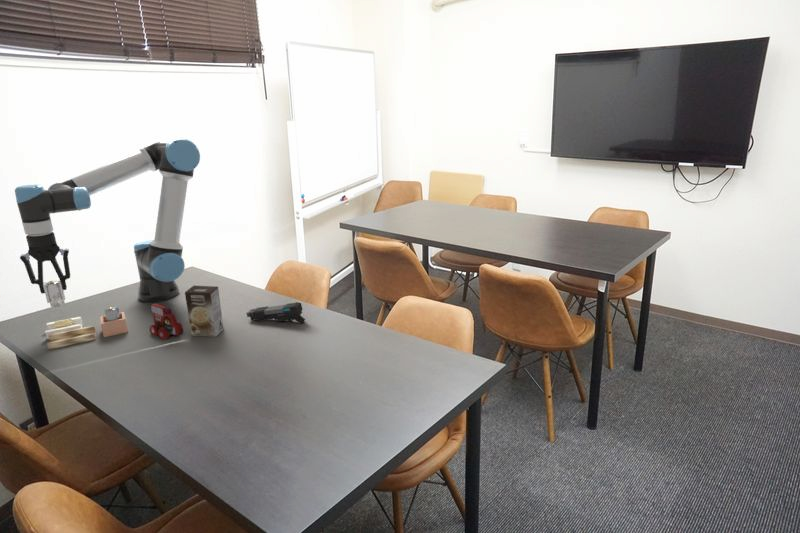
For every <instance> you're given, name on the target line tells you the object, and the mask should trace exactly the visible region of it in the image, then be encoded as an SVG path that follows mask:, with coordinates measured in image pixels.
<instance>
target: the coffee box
mask: <svg viewBox="0 0 800 533" xmlns="http://www.w3.org/2000/svg"><path fill="white" fill-rule="evenodd" d="M184 295H185V302H186V308H187V314H188V320H189V328H190V333H191V334H190V335H191V336H194V337H215V338H216V337H217V336H218V335H219V334H221V332H222V331H223V330H224V322H223V314H222V306H221V300H220V299H221V298H220V292H219V286H211V285H192V286H191V287H190V288H188V289H187V290H186V291H185V292H184Z"/></svg>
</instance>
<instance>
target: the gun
mask: <svg viewBox="0 0 800 533" xmlns="http://www.w3.org/2000/svg"><path fill="white" fill-rule="evenodd" d="M302 314H303V306H302V303H301V302H300V301H299V302H297V301H295V302H292V303H286V304H280V305H273V306H268V305H267V306H260V307H259V306H258V307H256V308H250V309H249V311H247V312H246V317H247V318H249V319H250V320H251V321H253V322H254V321H256V320H257V321H260V322H262V321H268V320H274V321H278V322H283V321H284V322H285V321H288V322H289V323H292V322H294V321H295V322H297V323H298V324H300V325H302V324H304V322H305V321H306V318H304V317H303V316H302Z"/></svg>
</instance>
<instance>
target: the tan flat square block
mask: <svg viewBox="0 0 800 533" xmlns="http://www.w3.org/2000/svg"><path fill="white" fill-rule="evenodd" d="M61 320H62V321H60V320H56V321H57V322H55V321H54V322H55V326H54V328H55V329H57V328H62V327H67V326H72V319H71V318H67V320H65V319H61Z"/></svg>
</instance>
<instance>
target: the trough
mask: <svg viewBox="0 0 800 533" xmlns="http://www.w3.org/2000/svg"><path fill="white" fill-rule="evenodd" d="M96 336H97V335H96V328H95V325H90V326H84V327H82V328H80V329H75V330H70V331H65V332H60V333H56V334H51V335H49V339H48V341H49V342H46V344H47V349H48V350H53V349H58V348H62V347H67V346H71V345H77V344H80V343H85V342H90V341H94V340H96V338H97V337H96Z"/></svg>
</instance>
